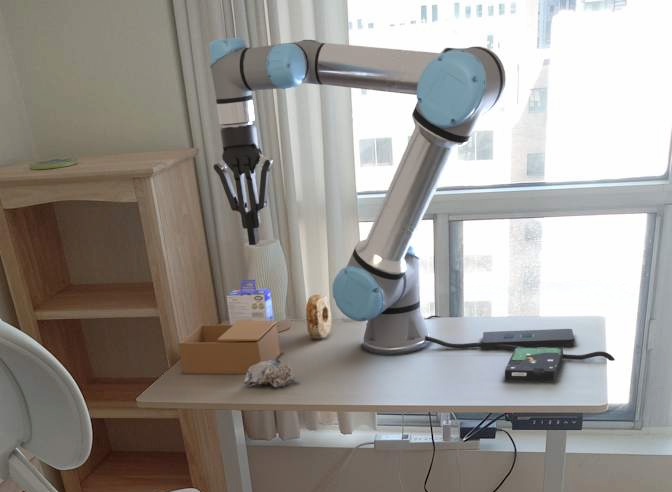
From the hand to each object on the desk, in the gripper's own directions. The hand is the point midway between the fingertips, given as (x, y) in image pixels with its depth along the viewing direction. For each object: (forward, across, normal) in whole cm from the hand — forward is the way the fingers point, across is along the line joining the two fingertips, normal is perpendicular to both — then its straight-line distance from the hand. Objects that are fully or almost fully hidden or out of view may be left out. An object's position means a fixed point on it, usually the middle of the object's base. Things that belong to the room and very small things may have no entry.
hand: (254, 243), depth 205 cm
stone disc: (+25, -9, -13) cm, 30 cm away
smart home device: (+26, -59, -6) cm, 65 cm away
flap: (+18, +2, +6) cm, 19 cm away
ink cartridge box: (+25, +7, -10) cm, 28 cm away
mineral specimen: (+26, -6, +20) cm, 33 cm away
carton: (+25, +7, +6) cm, 27 cm away
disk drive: (+26, -62, +13) cm, 68 cm away
